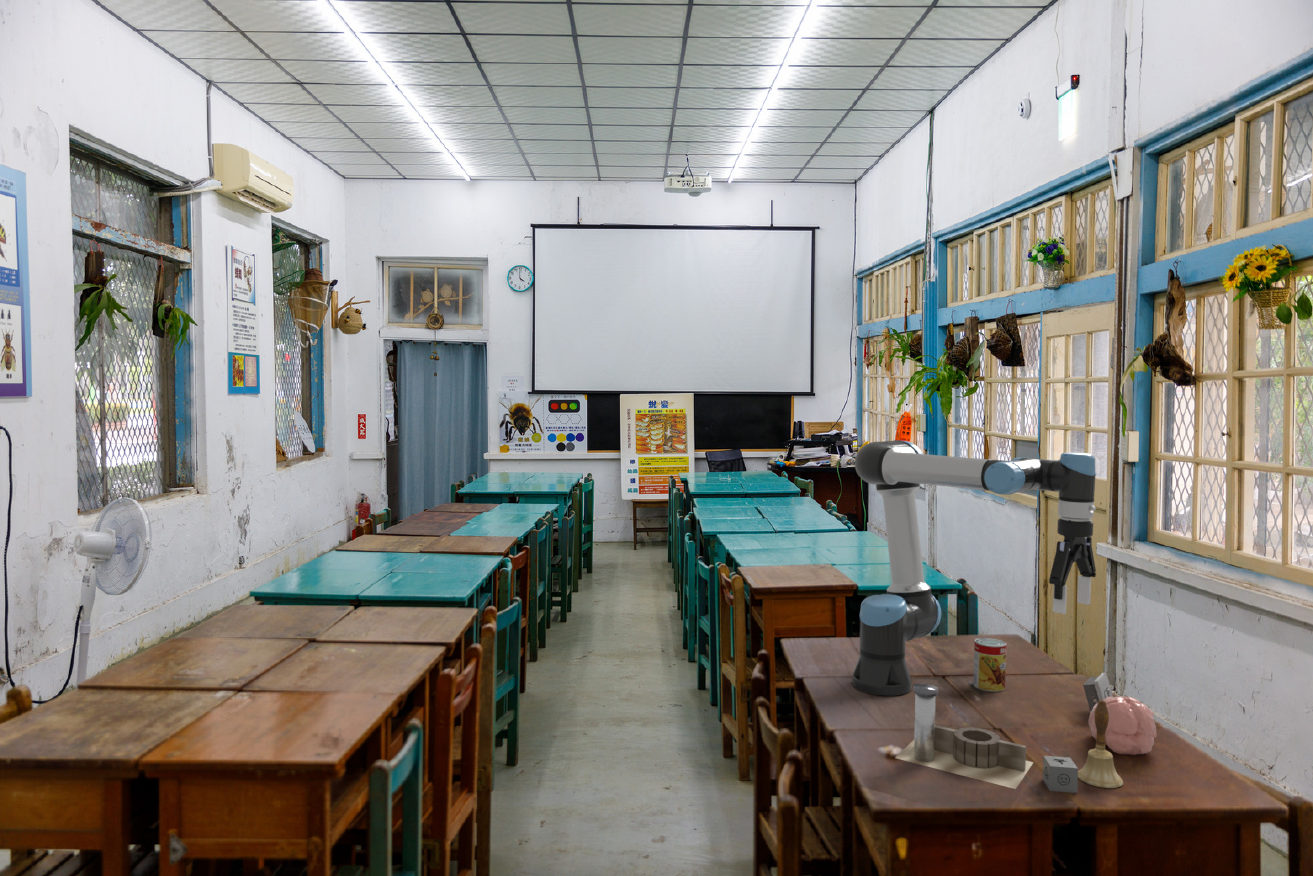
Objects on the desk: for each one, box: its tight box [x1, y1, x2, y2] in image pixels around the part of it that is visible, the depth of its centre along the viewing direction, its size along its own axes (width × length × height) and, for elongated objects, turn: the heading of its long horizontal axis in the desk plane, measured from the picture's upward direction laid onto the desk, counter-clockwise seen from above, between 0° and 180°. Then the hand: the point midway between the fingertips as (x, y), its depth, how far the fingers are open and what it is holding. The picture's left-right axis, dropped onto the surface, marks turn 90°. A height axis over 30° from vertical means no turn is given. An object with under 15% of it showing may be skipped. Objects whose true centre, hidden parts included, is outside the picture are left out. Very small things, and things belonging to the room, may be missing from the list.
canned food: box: [972, 637, 1007, 693], centre depth 229 cm, size 8×8×12 cm
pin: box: [912, 683, 939, 762], centre depth 180 cm, size 5×5×15 cm
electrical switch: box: [1082, 672, 1114, 713], centre depth 210 cm, size 9×5×9 cm, turn 141°
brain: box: [1088, 695, 1158, 756], centre depth 190 cm, size 16×13×12 cm
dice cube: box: [1042, 755, 1079, 794], centre depth 171 cm, size 5×5×5 cm
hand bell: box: [1078, 700, 1124, 789], centre depth 174 cm, size 8×8×16 cm
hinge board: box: [894, 724, 1034, 790], centre depth 180 cm, size 24×15×6 cm, turn 54°
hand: (1071, 608), depth 204 cm, fingers open, 13 cm apart
